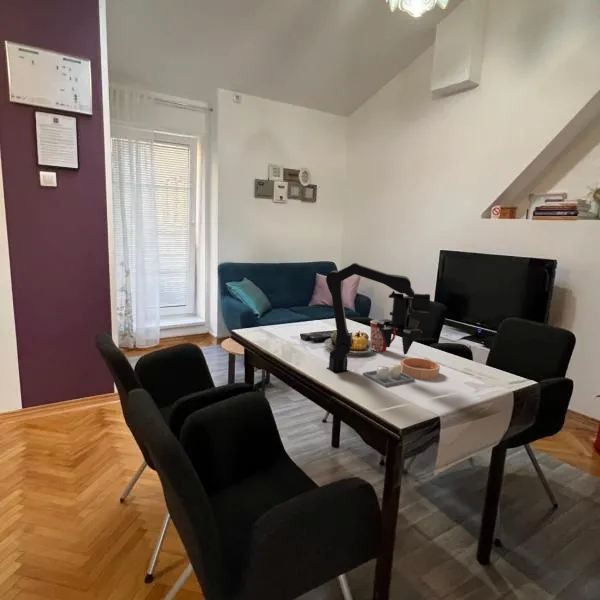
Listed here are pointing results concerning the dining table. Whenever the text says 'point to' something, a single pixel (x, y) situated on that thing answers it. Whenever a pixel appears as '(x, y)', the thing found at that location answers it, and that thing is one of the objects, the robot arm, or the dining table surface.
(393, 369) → the pebble sand
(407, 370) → the bowl
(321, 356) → the dining table surface
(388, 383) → the parts tray
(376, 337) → the mug
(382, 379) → the pebble grey
